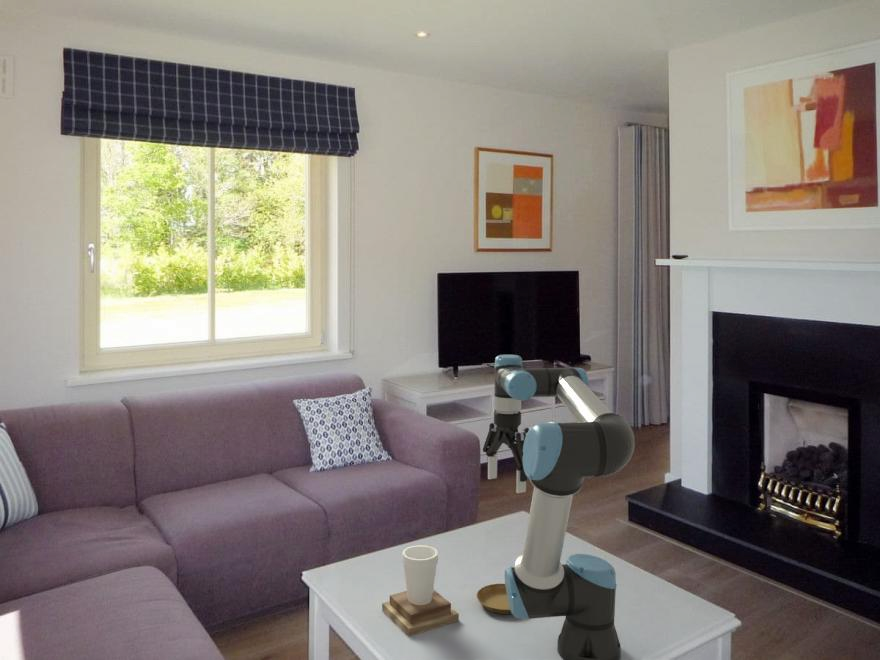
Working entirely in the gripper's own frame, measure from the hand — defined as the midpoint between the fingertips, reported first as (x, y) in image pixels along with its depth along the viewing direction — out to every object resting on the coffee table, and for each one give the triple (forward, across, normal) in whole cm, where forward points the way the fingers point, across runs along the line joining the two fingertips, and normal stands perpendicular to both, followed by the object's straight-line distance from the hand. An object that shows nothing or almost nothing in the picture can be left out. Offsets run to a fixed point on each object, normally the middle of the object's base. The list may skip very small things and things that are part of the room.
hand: (506, 485), depth 203 cm
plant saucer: (+32, -5, +4) cm, 33 cm away
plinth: (+32, +1, +27) cm, 42 cm away
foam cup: (+27, +1, +27) cm, 38 cm away
